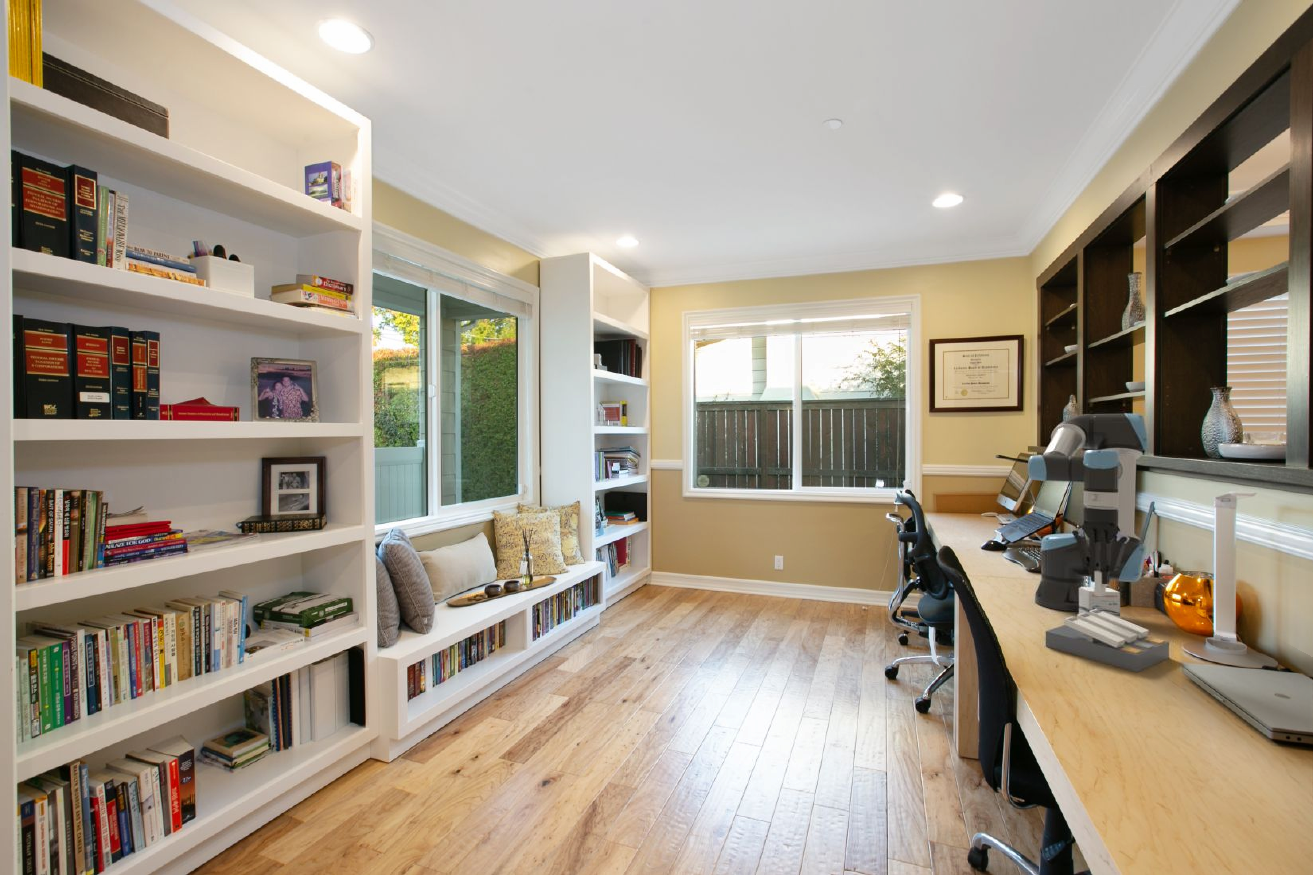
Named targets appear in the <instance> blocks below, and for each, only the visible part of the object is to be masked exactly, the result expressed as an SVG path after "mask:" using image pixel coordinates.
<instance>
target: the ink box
mask: <svg viewBox="0 0 1313 875" xmlns="http://www.w3.org/2000/svg"><path fill="white" fill-rule="evenodd" d="M1094 609H1098V610H1101V611H1103V612H1105V613H1108V614H1110V615H1113V616H1115V617H1118V618H1120V619H1121V592H1120V591H1117V590H1115V589H1113V588H1110V587H1106V595H1105V596H1101V597H1100V596H1095V595H1094V586H1085V587H1081V588H1079V611H1078V614H1081V613H1084V612H1085V613H1087V614H1089V611H1091V610H1094Z"/></svg>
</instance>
